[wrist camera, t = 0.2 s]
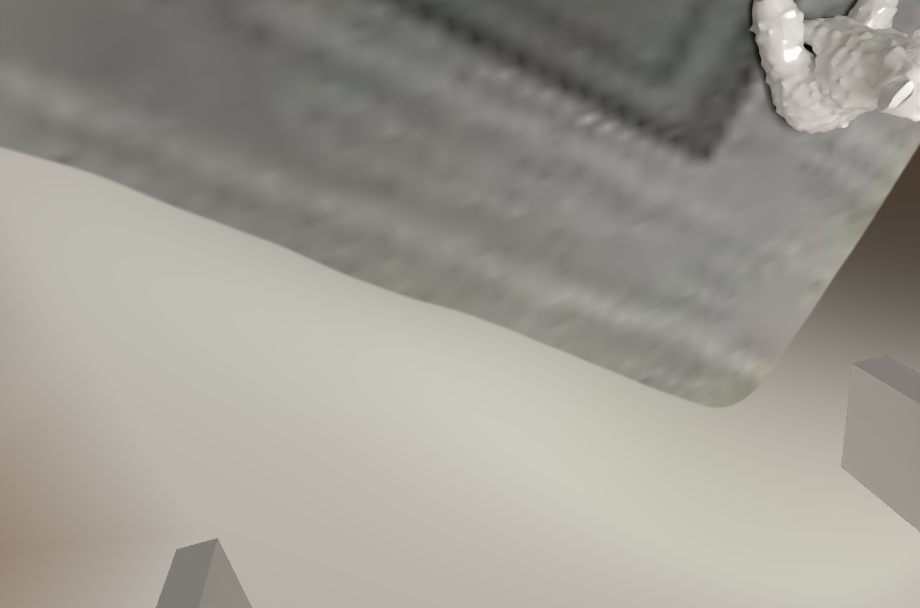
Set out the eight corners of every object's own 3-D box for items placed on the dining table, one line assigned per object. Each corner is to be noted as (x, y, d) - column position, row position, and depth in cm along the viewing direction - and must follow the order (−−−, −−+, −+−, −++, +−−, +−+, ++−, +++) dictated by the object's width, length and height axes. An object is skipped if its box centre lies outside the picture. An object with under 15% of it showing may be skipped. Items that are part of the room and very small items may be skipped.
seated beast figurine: (883, -16, 37) (1107, -48, 26) (855, 124, 40) (1042, 147, 29) (748, -8, 36) (924, -39, 25) (731, 136, 39) (879, 165, 28)
